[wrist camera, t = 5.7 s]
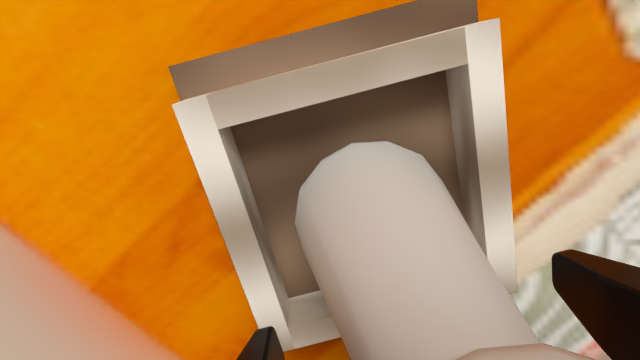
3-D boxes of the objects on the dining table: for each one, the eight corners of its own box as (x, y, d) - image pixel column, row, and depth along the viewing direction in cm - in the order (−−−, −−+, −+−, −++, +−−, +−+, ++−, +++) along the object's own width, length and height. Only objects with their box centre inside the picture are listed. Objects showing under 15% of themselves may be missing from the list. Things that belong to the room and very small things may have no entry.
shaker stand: (490, 275, 19) (525, 313, 16) (274, 330, 19) (271, 378, 16) (462, -11, 14) (505, -28, 11) (176, 66, 14) (147, 67, 11)
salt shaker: (298, 255, 16) (320, 841, 4) (289, 134, 14) (277, 550, 2) (421, 244, 17) (780, 758, 4) (427, 125, 15) (1084, 444, 3)
